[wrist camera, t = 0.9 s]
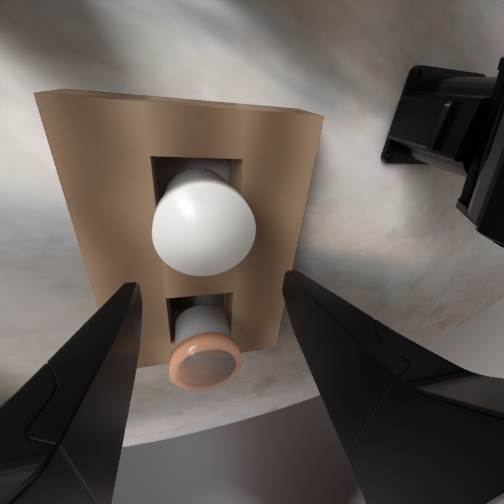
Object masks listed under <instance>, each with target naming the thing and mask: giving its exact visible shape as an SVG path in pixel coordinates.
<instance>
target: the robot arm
mask: <svg viewBox="0 0 504 504" xmlns="http://www.w3.org/2000/svg"><path fill="white" fill-rule="evenodd" d="M497 70H499V73H498V76H497V77H486V76H485V75H484V74H478V73H471V72H465V71H458V70H451V69H444V68H437V67H431V66H424V65H417V66H414V67H413V68H412V69H411V70H410V72H409V75H408V78H407V81H406V84H405V87H404V90H403V93H402V96H401V99H400V102H399V105H398V108H397V110H396V113H395V116H394V119H393V122H392V125H391V128H390V131H389V134H388V137H387V140H386V143H385V146H384V149H383V152H382V155H381V160H382V161H384V162H386V163H403V164H431V165H433V166H436V167H439V168H442V169H445V170H448V171H450V172H453V173H456V174H459V175H462V176H465V177H466V180H465V184H464V187H463V190H462V193H461V197H460V198H459V199H458V201H457V204H456V208H457V209H459V210H460V211H461V212H462V213H463V214H464V215H465V216H466V217H467V218H468V219H469V220H470V221H471V222H472V223H473V224H474V225H475V226H477V227H476V230H477V231H478V232H479V233H480V234H482V235H483V236H485V237H487V238H488V239H490V240H492V241H493V242H494V243H496V244H498V245H499V246H501V247H503V248H504V57H501V59H500V62H499V66H498V69H497ZM417 71H418V75H417V77H416V73H417ZM389 154H390V155H389ZM388 155H389V157H388V158H387V156H388ZM282 293H283V297H284V300H285V304H286V307H287V311H288V314H289V318H290V321H291V324H292V328H293V330H294V333H295V335H296V338H297V340H298V342H299V345H300V347H301V350H302V352H303V354H304V357H305V359H306V361H307V364H308V366H309V369H310V371H311V373H312V376H313V378H314V380H315V383H316V385H317V388H318V390H319V392H320V395H321V397H322V399H323V402H324V404H325V406H326V409H327V411H328V414H329V416H330V418H331V421H332V423H333V426H334V428H335V430H336V433H337V435H338V437H339V440H340V442H341V445H342V447H343V449H344V452H345V454H346V456H347V459H348V461H349V464H350V466H351V469H352V471H353V473H354V476H355V478H356V480H357V483H358V485H359V488H360V490H361V493H362V495H363V497H364V500H365V502H366V504H504V379H502V378H495V377H489V376H484V375H480V374H477V373H474V372H470V371H468V370H465V369H463V368H461V367H459V366H457V365H455V364H453V363H451V362H450V361H448V360H446V359H444V358H442V357H440V356H439V355H437V354H435V353H433V352H431V351H429V350H428V349H426V348H424V347H422V346H420V345H418V344H416V343H415V342H413V341H411V340H409V339H407V338H406V337H404V336H402V335H400V334H399V333H397V332H395V331H394V330H392V329H390V328H389V327H387V326H385V325H384V324H382V323H381V322H379V321H377V320H374V318H373V317H371V316H369V315H368V314H366V313H365V312H363V311H361V310H360V309H358V308H357V307H355V306H353V305H352V304H350V303H349V302H347V301H345V300H344V299H342V298H341V297H339V296H337V295H336V294H334V293H333V292H331V291H329V290H328V289H326V288H325V287H323V286H321V285H320V284H318V283H317V282H315V281H313V280H312V279H310V278H309V277H307V276H305V275H304V274H302V273H301V272H299V271H297V270H289V271H286V272H285V276H284V281H283V286H282ZM141 326H142V297H141V291H140V285H139V283H138V282H127V283H124V284H123V285H122V286H121V287H120V288H119V289H118V290H117V291H116V292H115V293H114V294H113V295H112V296H111V297H110V298H109V299H108V300H107V301H106V302H105V303H104V304H103V305H102V306H101V307H100V308H99V310H98V311H97V312H96V313H95V314H94V315H93V316H92V317H91V318H90V319H89V320H88V321H87V322H86V323H85V324H84V325H83V326H82V327H81V328H80V329H79V330H78V331H77V332H76V333H75V334H74V335H73V336H72V337H71V338H70V339H69V340H68V341H67V342H66V343H65V344H64V345H63V346H62V347H61V348H60V349H59V350H58V351H57V352H56V353H55V354H54V355H53V356H52V357H51V358H50V359H49V360H48V362H47V363H48V364H44V365H43V366H42V367H41V368H40V369H39V370H38V371H37V372H36V373H35V374H34V376H32V377H31V378H30V379H29V380H28V381H27V382H26V383H25V384H24V385H23V386H22V387H21V388H20V389H19V390H18V391H17V392H16V393H15V394H14V395H13V396H12V397H11V398H10V399H8V400H7V401H6V402H5V403H4V404H3V405H2V406H1V407H0V504H111V503H112V497H113V491H114V486H115V481H116V475H117V471H118V465H119V460H120V455H121V449H122V444H123V439H124V433H125V428H126V422H127V417H128V412H129V406H130V401H131V396H132V390H133V385H134V380H135V374H136V369H137V363H138V358H139V352H140V343H141Z"/></svg>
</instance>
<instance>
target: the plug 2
mask: <svg viewBox="0 0 504 504" xmlns="http://www.w3.org/2000/svg"><path fill="white" fill-rule="evenodd" d="M241 367H242V357H241V353H240V349H239V345H238V343H237V342H236V340H235V339H233V338H232V337H231V335H230V330H229V325H228V321H227V316H226V314H225V313H224V311H223V310H221V309H220V308H218V307H216V306H212V305H198V306H194V307H191V308H189V309H187V310H185V311H184V312H182V313H181V314H180V315H179V317H178V318H177V320H176V323H175V348H174V349H173V350H172V352H171V354H170V357H169V377H170V380H171V381H172V383H173V384H174V385H176V386H177V387H179V388H182V389H185V390H191V391H202V390H209V389H213V388H216V387H219V386H221V385H223V384H225V383H227V382H229V381H230V380H232V379H233V378H234V377H235V376H236V375H237V374H238V373H239V371H240V369H241Z"/></svg>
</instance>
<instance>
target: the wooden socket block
mask: <svg viewBox="0 0 504 504" xmlns="http://www.w3.org/2000/svg"><path fill="white" fill-rule="evenodd" d="M34 96H35V99H36V103H37V106H38V109H39V113H40V116H41V120H42V123H43V126H44V130H45V133H46V136H47V140H48V143H49V146H50V150H51V153H52V156H53V160H54V163H55V166H56V170H57V173H58V176H59V180H60V183H61V186H62V190H63V193H64V197H65V200H66V203H67V207H68V210H69V213H70V217H71V220H72V223H73V227H74V230H75V233H76V237H77V240H78V243H79V247H80V250H81V253H82V257H83V260H84V263H85V267H86V270H87V274H88V277H89V280H90V284H91V287H92V290H93V294H94V297H95V300H96V304H97V307H98V310H99V308H100V307H101V306H102V305H103V304H104V303H105V302H106V301H107V300H108V299H109V298H110V297H111V296H112V295H113V294H114V293H115V292H116V291H117V290H118V289H119V288H120V287H121V286H122V285H123V284H124V283H127V282H138V283H139V285H140V291H141V297H142V326H141V343H140V352H139V358H138V363H137V368H141V367H148V366H154V365H161V364H168V363H169V357H170V354H171V352H172V350H173V349H174V348H175V323H176V320H177V318H178V317H179V315H180V314H181V313H182V312H184V311H185V310H187V309H189V308H180V309H171V302H170V298H177V297H188V296H199V295H210V294H220V293H224V304H219V305H212V306H216V307H218V308H220V309H221V310H223V311H224V313H225V314H226V316H227V321H228V325H229V330H230V335H231V337H232V338H233V339H235V340H236V342H237V343H238V345H239V349H240V353H241V352H248V351H254V350H261V349H268V348H274V347H276V343H277V338H278V334H279V329H280V324H281V319H282V315H283V310H284V305H285V300H284V297H283V293H282V286H283V281H284V276H285V272H286V271H289V270H292V267H293V262H294V258H295V253H296V248H297V243H298V239H299V234H300V229H301V224H302V220H303V215H304V210H305V205H306V201H307V196H308V191H309V186H310V181H311V177H312V172H313V167H314V162H315V158H316V153H317V148H318V143H319V139H320V134H321V129H322V124H323V120H324V116H322V115H318V114H315V113H311V112H307V111H304V110H300V109H295V108H283V107H271V106H259V105H248V104H236V103H224V102H213V101H201V100H189V99H177V98H166V97H154V96H142V95H131V94H119V93H107V92H96V91H84V90H72V89H59V90H52V91H44V92H37V93H34ZM156 156H163V157H193V158H223V159H230V177H229V185H230V186H232V187H233V188H235V189H236V190H237V191H238V192H239V193H240V194H241V195H242V196H243V198H244V199H245V201H246V202H247V204H248V206H249V208H250V210H251V211H252V214H253V216H254V219H255V225H256V234H255V240H254V243H253V245H252V247H251V249H250V251H249V253H248V254H247V255H246V257H245V258H244V259H243V260H242V261H241V262H240V263H238V264H237V265H236V266H234V267H233V268H231V269H229V270H227V271H225V272H222V273H220V274H216V275H211V276H193V275H188V274H185V273H182V272H179V271H177V270H175V269H173V268H172V267H170V266H169V265H168V264H166V263H165V262H164V261H163V260H162V259H161V257H160V256H159V255H158V253H157V251H156V249H155V247H154V244H153V239H152V225H153V218H154V213H155V210H156V207H157V205H158V203H159V201H160V190H159V180H158V170H157V160H156ZM190 308H191V307H190Z"/></svg>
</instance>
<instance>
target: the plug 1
mask: <svg viewBox="0 0 504 504" xmlns="http://www.w3.org/2000/svg"><path fill="white" fill-rule="evenodd" d="M255 234H256V225H255V219H254V216H253V214H252V211H251V210H250V208H249V206H248V204H247V202H246V201H245V199H244V198H243V196H242V195H241V194H240V193H239V192H238V191H237V190H236V189H235V188H233V187H232V186H230V185H228V183H227V182H226V181H225V179H224V178H223V177H221V176H220V175H219V174H217V173H215V172H213V171H211V170H208V169H202V168H194V169H189V170H186V171H183V172H181V173H179V174H178V175H176V176H175V177H174V178H173V179H172V180H171V181H170V183H169V184H168V186H167V188H166V191H165V195H164V196H163V197H162V198H161V200H160V201H159V203H158V205H157V207H156V210H155V213H154V218H153V225H152V239H153V244H154V247H155V249H156V251H157V253H158V255H159V256H160V257H161V259H162V260H163V261H164V262H165V263H166V264H168V265H169V266H170V267H172V268H173V269H175V270H177V271H179V272H182V273H185V274H188V275H193V276H211V275H216V274H220V273H222V272H225V271H227V270H229V269H231V268H233V267H234V266H236V265H237V264H238V263H240V262H241V261H242V260H243V259H244V258H245V257H246V255H247V254H248V253H249V251H250V249H251V247H252V245H253V243H254V240H255Z"/></svg>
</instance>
